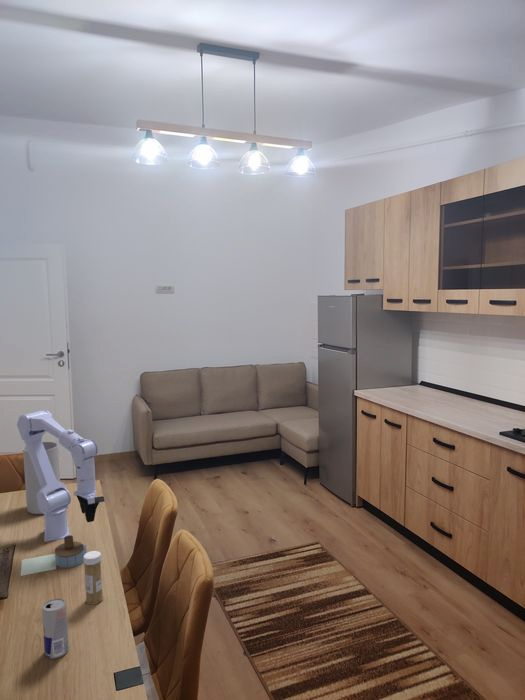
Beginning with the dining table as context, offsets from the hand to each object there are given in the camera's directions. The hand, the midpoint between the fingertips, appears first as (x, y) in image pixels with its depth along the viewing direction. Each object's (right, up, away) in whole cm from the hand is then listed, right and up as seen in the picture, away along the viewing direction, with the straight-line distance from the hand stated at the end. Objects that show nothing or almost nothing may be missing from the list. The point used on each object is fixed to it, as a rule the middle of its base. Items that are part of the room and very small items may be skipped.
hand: (87, 517), depth 174 cm
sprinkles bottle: (+11, -14, -28) cm, 34 cm away
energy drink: (+9, -17, -49) cm, 52 cm away
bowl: (-3, -11, -7) cm, 14 cm away
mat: (-12, -12, -10) cm, 20 cm away
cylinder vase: (-28, -7, +32) cm, 43 cm away
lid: (-3, -8, -8) cm, 12 cm away
